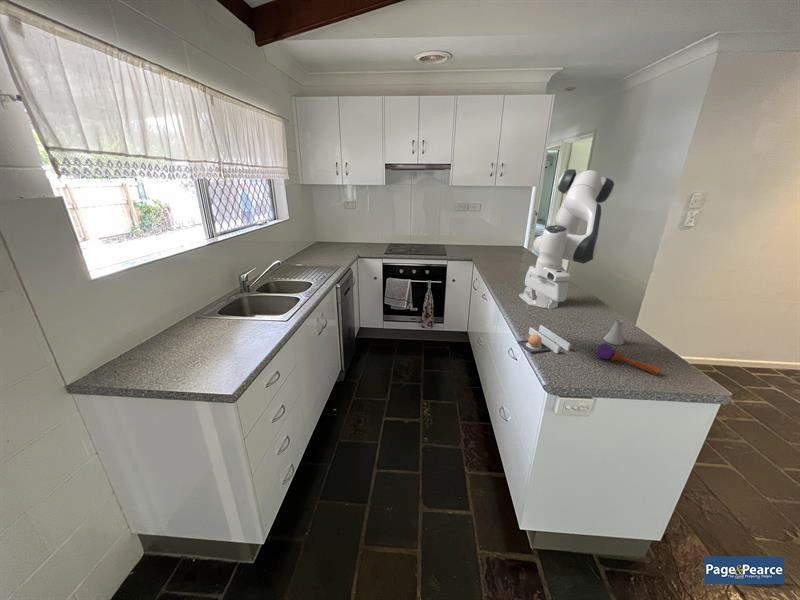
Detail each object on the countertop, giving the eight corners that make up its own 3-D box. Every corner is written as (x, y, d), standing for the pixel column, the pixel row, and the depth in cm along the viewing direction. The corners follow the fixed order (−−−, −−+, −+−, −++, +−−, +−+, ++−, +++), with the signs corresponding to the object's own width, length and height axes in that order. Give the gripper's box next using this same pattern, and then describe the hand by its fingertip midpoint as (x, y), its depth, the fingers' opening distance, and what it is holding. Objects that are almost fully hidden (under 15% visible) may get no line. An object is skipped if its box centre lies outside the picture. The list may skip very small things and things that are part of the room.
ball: (524, 343, 135) (526, 332, 133) (535, 341, 136) (537, 331, 134) (532, 349, 130) (534, 338, 128) (542, 347, 132) (545, 337, 130)
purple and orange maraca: (659, 370, 112) (596, 346, 124) (653, 382, 115) (592, 358, 127) (662, 360, 116) (600, 338, 127) (656, 372, 119) (596, 350, 131)
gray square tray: (517, 342, 136) (517, 340, 136) (535, 340, 139) (536, 338, 138) (531, 353, 128) (531, 351, 128) (550, 351, 130) (550, 348, 130)
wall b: (528, 333, 145) (529, 327, 144) (530, 333, 145) (531, 327, 144) (556, 353, 128) (558, 347, 127) (558, 353, 129) (559, 346, 128)
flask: (613, 346, 135) (619, 325, 131) (599, 338, 142) (605, 318, 138) (627, 344, 137) (633, 323, 133) (612, 337, 143) (618, 316, 140)
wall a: (538, 331, 147) (539, 325, 146) (540, 331, 147) (541, 325, 146) (567, 350, 131) (569, 344, 130) (569, 350, 131) (570, 344, 130)
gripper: (523, 263, 130) (518, 295, 135) (559, 278, 112) (551, 314, 117) (537, 262, 132) (531, 294, 137) (574, 277, 114) (566, 313, 119)
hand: (540, 303), depth 127 cm, fingers open, 8 cm apart
